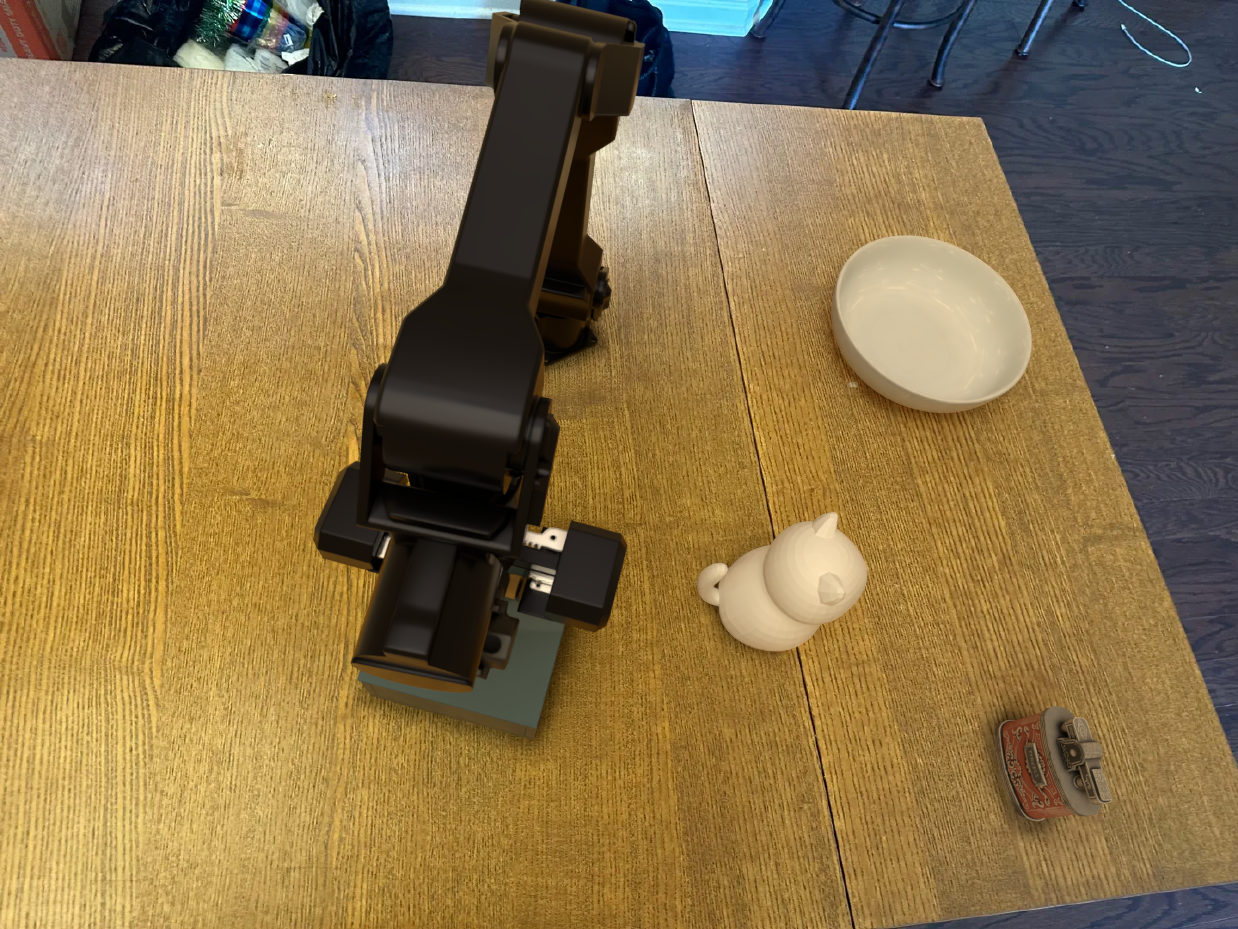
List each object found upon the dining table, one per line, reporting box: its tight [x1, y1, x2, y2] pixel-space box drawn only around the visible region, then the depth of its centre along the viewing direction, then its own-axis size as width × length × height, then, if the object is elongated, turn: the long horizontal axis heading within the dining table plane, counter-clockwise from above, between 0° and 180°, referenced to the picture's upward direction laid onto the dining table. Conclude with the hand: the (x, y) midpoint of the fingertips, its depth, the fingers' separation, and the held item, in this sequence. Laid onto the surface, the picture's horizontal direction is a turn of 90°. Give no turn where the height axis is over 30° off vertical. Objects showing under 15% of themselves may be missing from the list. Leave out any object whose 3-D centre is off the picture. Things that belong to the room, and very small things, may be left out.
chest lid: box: [357, 566, 566, 729], centre depth 58 cm, size 12×14×5 cm
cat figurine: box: [696, 511, 868, 652], centre depth 66 cm, size 9×12×15 cm
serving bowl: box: [830, 234, 1033, 414], centre depth 85 cm, size 21×21×7 cm
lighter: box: [993, 705, 1113, 823], centre depth 65 cm, size 8×3×10 cm, turn 5°
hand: (478, 583), depth 58 cm, fingers closed on chest lid, 6 cm apart
